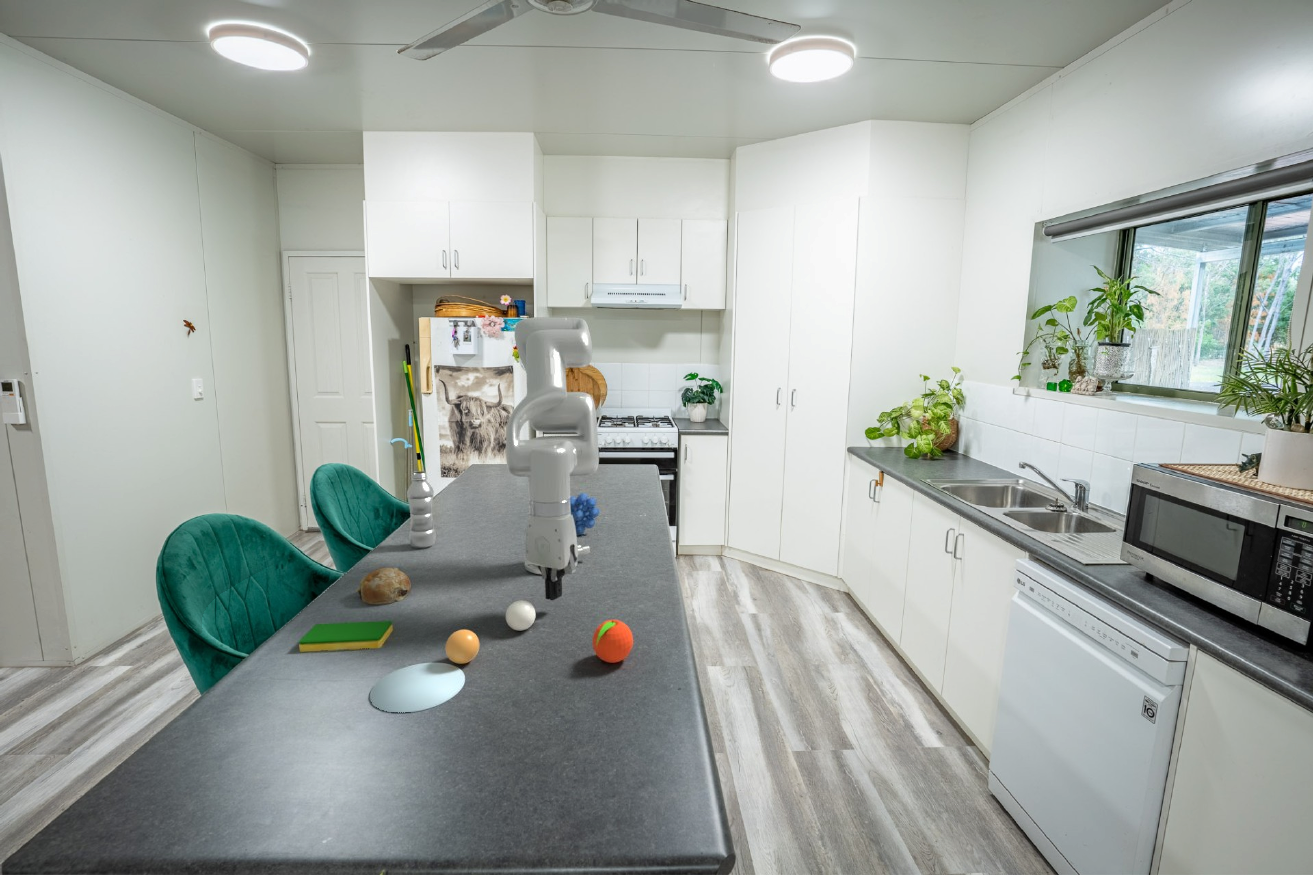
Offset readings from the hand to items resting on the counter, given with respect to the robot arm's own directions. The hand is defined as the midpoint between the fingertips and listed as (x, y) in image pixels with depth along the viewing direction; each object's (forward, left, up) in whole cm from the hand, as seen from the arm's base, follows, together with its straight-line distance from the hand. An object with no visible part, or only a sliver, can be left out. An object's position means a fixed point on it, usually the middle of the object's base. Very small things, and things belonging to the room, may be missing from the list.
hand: (553, 597), depth 124 cm
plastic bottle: (+17, -55, -3) cm, 58 cm away
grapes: (-23, -45, -3) cm, 51 cm away
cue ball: (+8, +4, 0) cm, 9 cm away
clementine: (-2, +23, -3) cm, 23 cm away
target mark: (+28, +16, -3) cm, 32 cm away
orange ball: (+20, +11, 0) cm, 23 cm away
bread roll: (+29, -25, -4) cm, 39 cm away
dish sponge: (+37, -7, -4) cm, 38 cm away
